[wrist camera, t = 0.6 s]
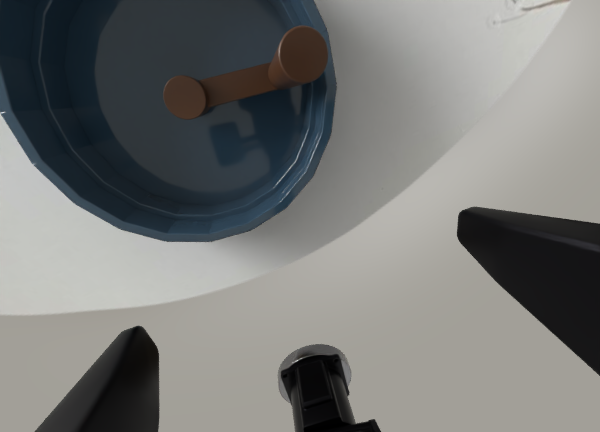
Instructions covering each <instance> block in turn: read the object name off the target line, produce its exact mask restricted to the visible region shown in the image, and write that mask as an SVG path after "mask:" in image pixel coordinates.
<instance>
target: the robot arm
mask: <svg viewBox="0 0 600 432" xmlns="http://www.w3.org/2000/svg"><path fill="white" fill-rule="evenodd" d="M457 237H458V240H459V241H460V243H461V244H462V245H463V246H464V247H465V248H466V249H467V251H468V252H469V253H470V254H471V255H472V256H473V257H474V258H475V259H476V260H477V261H478V263H479V264H480V265H481V266H482V267H483V268H484V269H485V270H486V271H487V272H488V273H489V274H490V276H491V277H492V278H493V279H494V280H495V281H496V282H497V283H498V284H499V285H500V286H501V287H502V288H504V289H505V290H506V291H507V292H508V293H509V294H510V295H511V296H512V297H514V298H515V299H516V300H517V301H518V302H519V303H520V304H521V305H522V306H523V307H524V308H526V309H527V310H528V311H529V312H530V313H531V314H532V315H533V316H535V318H537V319H538V320H539V321H540V322H541V323H542V324H543V325H544V326H545V327H547V328H548V329H549V330H550V331H551V332H552V333H553V334H554V335H556V336H557V337H558V338H559V339H560V340H561V341H562V342H563V343H564V344H565V345H566V346H567V347H569V348H570V349H571V350H572V351H573V352H574V353H575V354H576V355H577V356H579V357H580V358H581V359H582V360H583V361H584V362H585V363H586V364H587V365H588V366H590V367H591V368H592V369H593V370H594V371H595V372H596V373H597V374H598V375H599V376H600V224H598V223H591V222H583V221H576V220H569V219H562V218H554V217H547V216H540V215H532V214H525V213H517V212H511V211H503V210H496V209H488V208H481V207H471V208H468V209H465V210H462V211H461V212H460V213H459V216H458V229H457ZM280 374H281V379H282V382H283V384H284V387H285V389H286V392H287V395H288V397H289V400H290V402H291V405H292V409H293V417H294V426H295V432H381V431H380V429H379V427H378V425H377V423H376V421H375V419H372V420H369V421H368V422H362V423H357V424H356V423H355V419H354V416H353V413H352V410H351V407H350V403H349V400H348V397H347V396H348V395H349V390H348V386H347V382H346V378H345V374H344V370H343V366H342V362H341V358H340V356H339V355H338V354H333V355H330V356H327V357H323V358H320V359H317V360H313V361H310V362H307V363H303V364H300V365H297V366H293V367H290V368H287V369H284V370H282V371H281V372H280ZM158 425H159V353H158V349H157V346H156V345H155V343H154V342H153V341H152V339H151V338H150V336H149V335H148V333H147V332H146V330H145V329H144V328H143V327H142V326H136V327H133V328H130V329H127V330H124V331H123V332H121V333H120V334H119V335H118V337H117V338H116V339H115V340H114V341H113V342H112V344H110V346H109V347H108V348H107V349H106V350H105V352H104V353H103V354H102V355H101V356H100V357H99V358H98V359H97V361H96V362H95V363H94V364H93V365H92V366H91V368H90V369H89V370H88V371H87V372H86V373H85V374H84V376H83V377H82V378H81V379H80V380H79V381H78V383H77V384H76V385H75V386H74V387H73V388H72V389H71V390H70V392H69V393H68V394H67V395H66V396H65V397H64V399H63V400H62V401H61V402H60V403H59V404H58V405H57V407H56V408H55V409H54V410H53V411H52V412H51V413H50V415H49V416H48V417H47V418H46V419H45V420H44V422H43V423H42V424H41V425H40V426H39V427H38V428H37V430H36V431H35V432H158V427H159V426H158Z"/></svg>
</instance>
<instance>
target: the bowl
mask: <svg viewBox="0 0 600 432" xmlns="http://www.w3.org/2000/svg"><path fill="white" fill-rule="evenodd" d="M302 25H304V26H309V27H312V28H314V29H316V30H317V31H318V32H319V33H320V34H321V35H322V36H323V38H324V39H325V41H326V44H327V48H328V62H327V66H326V68H325V70H324V72H323V73H322V75H321V76H320V77H319V78H317V79H316V80H314V81H312V82H310V83H306V84H303V85H299V86H296V87H292V88H289V89H285V90H275V91H271V92H267V93H263V94H259V95H256V96H252V97H248V98H244V99H240V100H236V101H232V102H229V103H225V104H221V105H217V106H213V107H211V108H210V110H209V111H208V112H207V113H206V114H205V115H203V116H200V117H197V118H194V119H190V120H186V119H181V118H178V117H176V116H175V115H174V114H172V113H171V112H170V111H169V109H168V108H167V106H166V104H165V102H164V98H163V91H164V87H165V85H166V83H167V82H168V81H169V80H170V79H171V78H173V77H175V76H179V75H184V76H189V77H192V78H195V79H198V80H202V79H206V78H210V77H214V76H218V75H222V74H226V73H230V72H234V71H237V70H241V69H245V68H249V67H253V66H257V65H261V64H265V63H269V62H272V59H273V57H274V55H275V53H276V50H277V48H278V46H279V44H280V41H281V39H282V38H283V36H284V35H285V33H286V32H288V31H289V30H290V29H292V28H294V27H296V26H302ZM336 84H337V83H336V77H335V71H334V65H333V59H332V53H331V47H330V41H329V35H328V31H327V28H326V26H325V23H324V21H323V19H322V17H321V15H320V13H319V11H318V9H317V6H316V4H315V2H314V0H0V112H1V115H2V117H3V118H4V120H5V121H6V123H7V125H8V126H9V128H10V129H11V131H12V133H13V134H14V136H15V137H16V139H17V140H18V142H19V144H20V145H21V147H22V148H23V150H24V152H25V153H26V155H27V156H28V158H29V160H30V161H31V163H32V164H34V166H35V167H36V168H37V169H38V170H39V171H40V172H41V173H42V174H43V175H44V176H46V177H47V178H48V179H49V180H50V181H51V182H52V183H53V184H54V185H55V186H56V187H57V188H58V189H59V190H60V191H61V192H62V193H64V194H65V195H66V196H67V197H68V198H69V199H70V200H71V201H72V202H73V203H75V204H76V205H78V206H79V207H81V208H83V209H85V210H87V211H88V212H90V213H92V214H94V215H95V216H97V217H99V218H101V219H103V220H104V221H106V222H108V223H110V224H112V225H113V226H115V227H117V228H119V229H121V230H125V231H128V232H132V233H136V234H140V235H143V236H147V237H151V238H154V239H158V240H162V241H167V242H210V241H211V242H212V241H215V240H219V239H223V238H226V237H230V236H233V235H237V234H240V233H244V232H248V231H250V230H253V229H254V228H256V227H257V226H259V225H261V224H262V223H264V222H265V221H267V220H268V219H270V218H272V217H273V216H275V215H276V214H278V213H280V212H281V211H283V210H284V209H285V208H287V207H288V206H289V204H290V203H291V202H292V201H293V200H294V199H295V197H296V196H297V195H298V194H299V193H300V191H301V190H302V189H303V188H304V187H305V186H306V184H307V183H308V182H309V181H310V180H311V179H312V177H313V176H314V174H315V171H316V169H317V167H318V164H319V162H320V160H321V157H322V155H323V153H324V150H325V148H326V146H327V143H328V141H329V139H330V136H331V135H330V134H331V132H332V123H333V114H334V106H335V97H336V88H337V86H336Z"/></svg>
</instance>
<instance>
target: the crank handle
mask: <svg viewBox="0 0 600 432" xmlns="http://www.w3.org/2000/svg"><path fill="white" fill-rule="evenodd" d="M327 62H328V48H327V44H326V41H325V39H324V38H323V36H322V35H321V34H320V33H319V32H318V31H317V30H316V29H314V28H312V27H309V26H304V25H302V26H296V27H294V28H292V29H290V30H289V31H288V32H286V33H285V35H284V36H283V38H282V39H281V41H280V44H279V46H278V48H277V50H276V53H275V55H274V57H273V59H272V62H269V63H265V64H261V65H257V66H253V67H249V68H245V69H241V70H237V71H234V72H230V73H226V74H222V75H218V76H214V77H210V78H206V79H202V80H198V79H195V78H192V77H189V76H184V75H179V76H175V77H173V78H171V79H170V80H169V81H168V82H167V83H166V85H165V87H164V91H163V98H164V102H165V104H166V106H167V108H168V109H169V111H170V112H171V113H172V114H174V115H175V116H176V117H178V118H181V119H186V120H190V119H194V118H197V117H200V116H203V115H205V114H206V113H207V112H208V111H209V110H210V108H211V107H213V106H217V105H221V104H225V103H229V102H232V101H236V100H240V99H244V98H248V97H252V96H256V95H259V94H263V93H267V92H271V91H275V90H285V89H289V88H292V87H296V86H299V85H303V84H306V83H310V82H312V81H314V80H316V79H317V78H319V77H320V76H321V75H322V73H323V72H324V70H325V68H326V66H327Z"/></svg>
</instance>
